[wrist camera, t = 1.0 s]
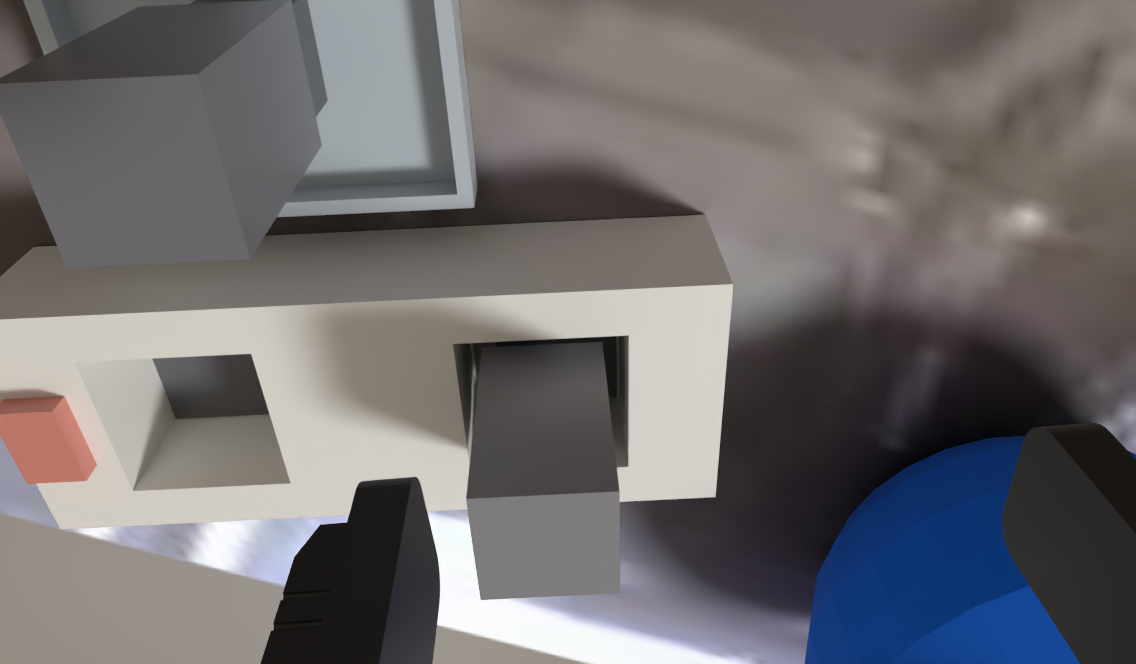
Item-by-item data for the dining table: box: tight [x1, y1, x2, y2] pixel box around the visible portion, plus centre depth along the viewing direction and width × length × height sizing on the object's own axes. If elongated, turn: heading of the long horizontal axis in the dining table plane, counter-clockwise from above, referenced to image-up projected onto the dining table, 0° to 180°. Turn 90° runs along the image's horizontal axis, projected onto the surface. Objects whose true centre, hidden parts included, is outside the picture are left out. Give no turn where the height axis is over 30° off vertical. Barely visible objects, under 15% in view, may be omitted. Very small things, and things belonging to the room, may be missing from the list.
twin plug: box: [466, 337, 620, 600], centre depth 26 cm, size 4×4×10 cm
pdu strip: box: [0, 215, 733, 529], centre depth 29 cm, size 9×24×6 cm, turn 92°
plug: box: [0, 0, 328, 268], centre depth 21 cm, size 4×4×10 cm
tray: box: [23, 0, 478, 217], centre depth 25 cm, size 10×12×2 cm
